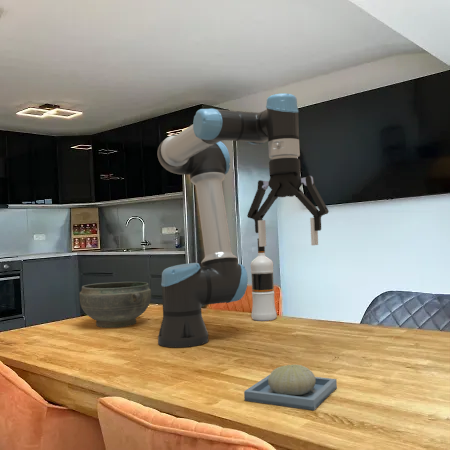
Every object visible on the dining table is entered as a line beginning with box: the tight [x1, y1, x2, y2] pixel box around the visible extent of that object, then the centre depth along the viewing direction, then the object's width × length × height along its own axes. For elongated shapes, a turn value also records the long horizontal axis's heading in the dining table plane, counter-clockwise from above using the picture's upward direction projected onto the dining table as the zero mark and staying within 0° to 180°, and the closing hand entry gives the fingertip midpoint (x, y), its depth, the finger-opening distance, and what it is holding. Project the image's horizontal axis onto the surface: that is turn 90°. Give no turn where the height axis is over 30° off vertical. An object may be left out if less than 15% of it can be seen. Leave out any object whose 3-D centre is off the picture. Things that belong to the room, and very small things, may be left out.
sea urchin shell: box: [268, 364, 316, 396], centre depth 100 cm, size 9×8×8 cm
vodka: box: [250, 237, 278, 322], centre depth 187 cm, size 9×9×30 cm
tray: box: [243, 374, 338, 411], centre depth 100 cm, size 14×14×2 cm
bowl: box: [79, 281, 152, 329], centre depth 189 cm, size 32×26×15 cm
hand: (288, 245), depth 123 cm, fingers open, 13 cm apart
